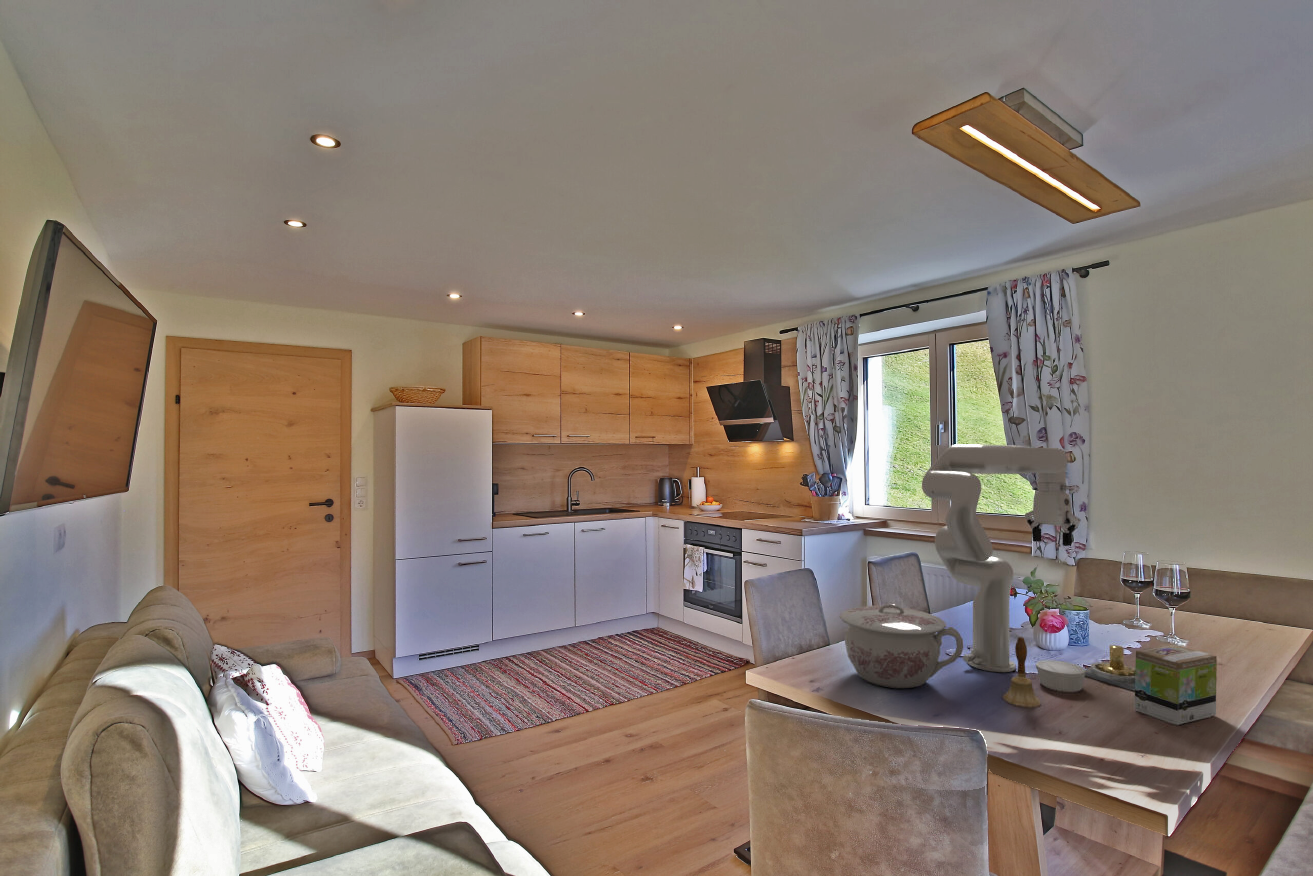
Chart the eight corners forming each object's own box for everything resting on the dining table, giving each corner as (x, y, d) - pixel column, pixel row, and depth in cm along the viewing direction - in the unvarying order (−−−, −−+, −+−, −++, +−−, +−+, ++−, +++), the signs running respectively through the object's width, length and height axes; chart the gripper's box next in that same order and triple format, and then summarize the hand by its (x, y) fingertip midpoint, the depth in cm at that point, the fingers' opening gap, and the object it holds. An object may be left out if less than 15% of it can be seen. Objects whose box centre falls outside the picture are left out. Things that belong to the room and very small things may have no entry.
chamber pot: (819, 669, 188) (819, 596, 188) (898, 659, 197) (897, 589, 197) (885, 706, 161) (885, 621, 161) (972, 692, 171) (972, 612, 171)
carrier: (1149, 696, 168) (1149, 677, 168) (1081, 675, 183) (1081, 657, 183) (1175, 688, 174) (1175, 669, 174) (1106, 668, 189) (1106, 651, 189)
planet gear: (1124, 681, 175) (1124, 653, 175) (1092, 671, 183) (1092, 644, 183) (1141, 676, 179) (1141, 649, 179) (1109, 667, 186) (1109, 641, 186)
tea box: (1180, 727, 150) (1179, 662, 150) (1133, 711, 159) (1132, 649, 159) (1218, 716, 156) (1217, 654, 156) (1170, 701, 165) (1170, 642, 165)
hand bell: (1040, 710, 159) (1040, 644, 159) (1001, 703, 163) (1001, 638, 164) (1041, 699, 166) (1041, 635, 166) (1004, 692, 170) (1004, 630, 171)
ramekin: (1026, 682, 178) (1026, 662, 178) (1054, 676, 182) (1054, 657, 182) (1066, 697, 168) (1066, 676, 168) (1095, 690, 172) (1095, 670, 172)
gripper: (1087, 489, 198) (1087, 546, 198) (1033, 486, 214) (1033, 539, 214) (1071, 490, 195) (1071, 548, 195) (1017, 486, 211) (1018, 540, 210)
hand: (1051, 543), depth 204 cm, fingers open, 9 cm apart
